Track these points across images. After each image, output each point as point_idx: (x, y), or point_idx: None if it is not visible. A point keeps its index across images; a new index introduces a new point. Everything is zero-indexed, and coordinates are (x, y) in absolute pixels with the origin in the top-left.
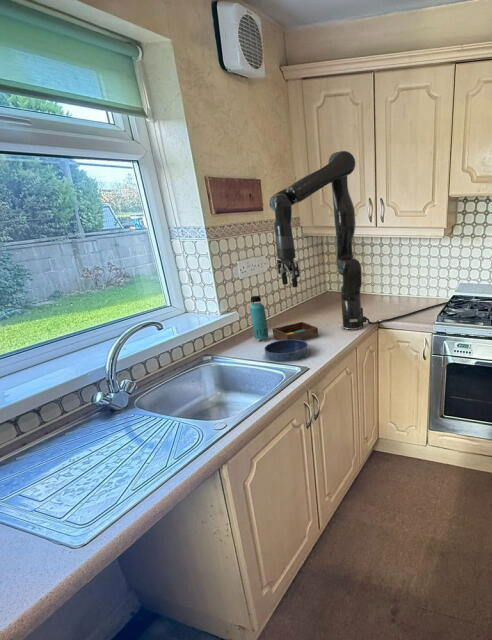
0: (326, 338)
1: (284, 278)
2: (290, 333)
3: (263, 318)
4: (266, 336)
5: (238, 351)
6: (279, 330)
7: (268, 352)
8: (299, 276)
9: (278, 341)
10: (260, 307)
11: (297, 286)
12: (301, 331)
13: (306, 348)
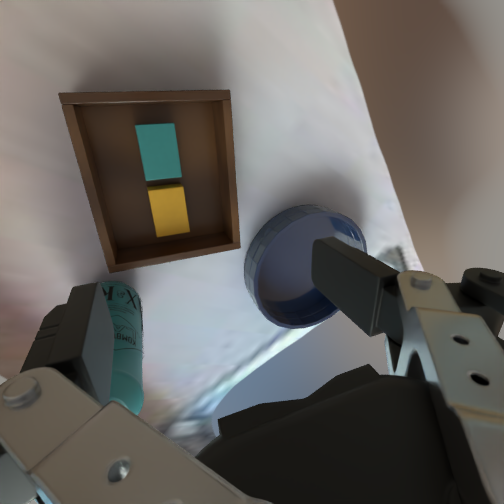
0: (250, 73)
1: (103, 366)
2: (167, 206)
3: (137, 341)
4: (136, 293)
5: (184, 367)
6: (110, 238)
7: (317, 323)
8: (486, 272)
9: (257, 282)
10: (141, 391)
11: (330, 238)
12: (232, 182)
13: (359, 229)
